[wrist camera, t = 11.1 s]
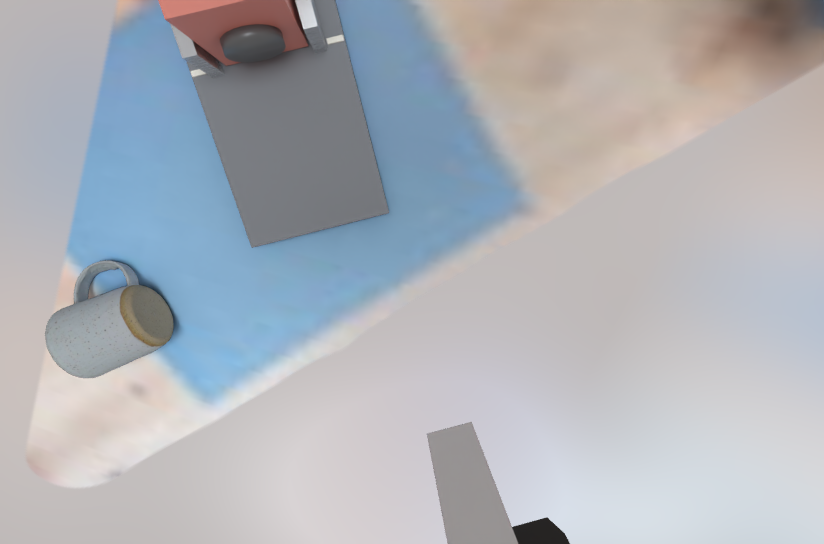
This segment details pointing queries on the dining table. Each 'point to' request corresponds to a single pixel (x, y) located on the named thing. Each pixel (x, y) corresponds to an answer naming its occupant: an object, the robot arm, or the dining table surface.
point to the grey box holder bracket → (215, 67)
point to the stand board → (294, 138)
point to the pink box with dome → (238, 27)
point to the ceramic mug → (107, 325)
